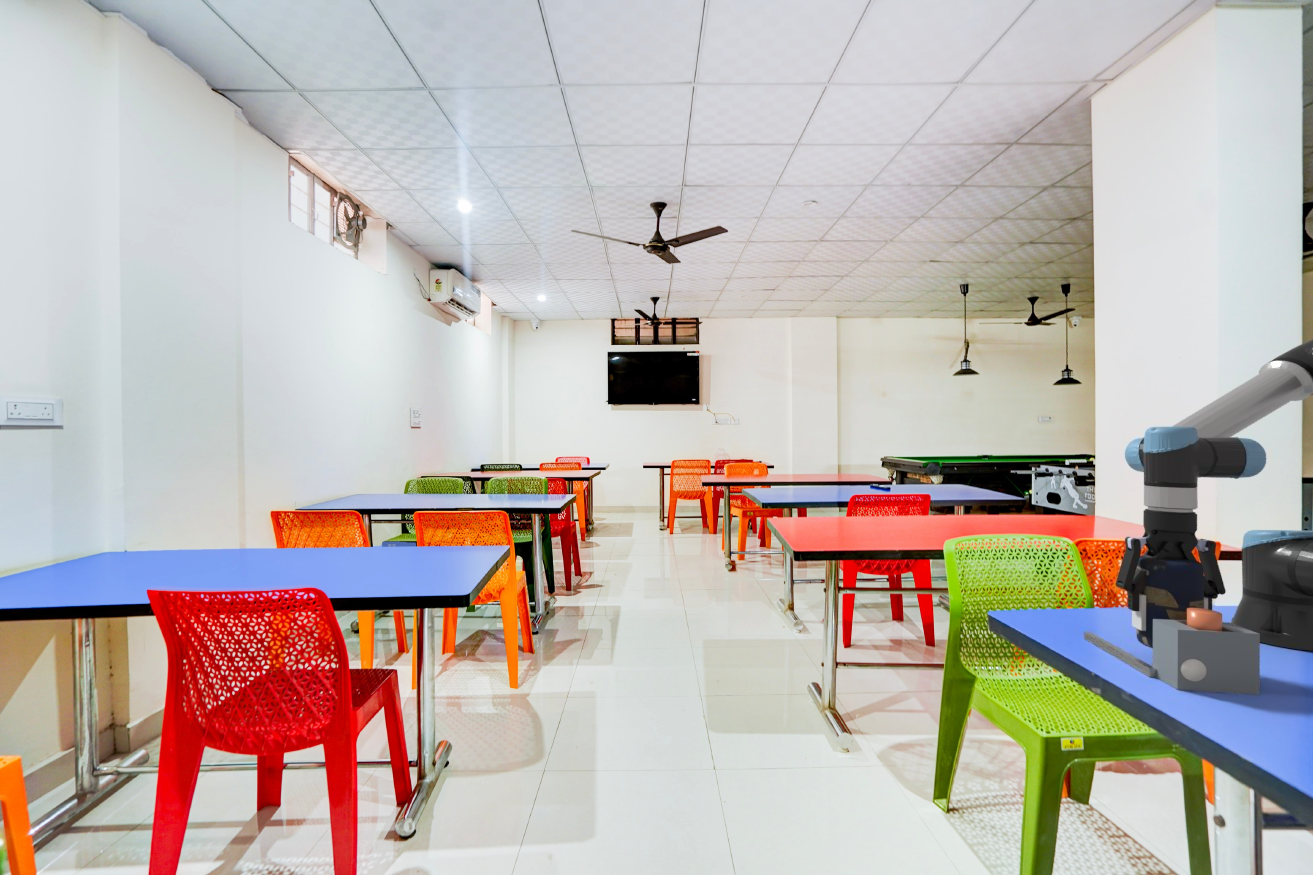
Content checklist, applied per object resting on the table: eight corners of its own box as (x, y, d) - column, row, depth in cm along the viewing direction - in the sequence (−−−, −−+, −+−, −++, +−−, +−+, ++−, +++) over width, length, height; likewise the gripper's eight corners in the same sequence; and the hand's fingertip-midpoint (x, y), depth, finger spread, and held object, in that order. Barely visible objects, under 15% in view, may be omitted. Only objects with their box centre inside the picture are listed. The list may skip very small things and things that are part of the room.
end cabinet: (1229, 679, 102) (1229, 622, 102) (1261, 695, 95) (1261, 634, 95) (1152, 675, 103) (1152, 618, 103) (1179, 690, 97) (1179, 630, 97)
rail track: (1165, 642, 120) (1165, 635, 120) (1247, 682, 100) (1248, 674, 100) (1084, 638, 122) (1084, 631, 122) (1149, 677, 103) (1149, 668, 103)
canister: (1218, 660, 103) (1218, 558, 103) (1155, 656, 105) (1156, 556, 105) (1181, 642, 112) (1181, 548, 112) (1124, 638, 114) (1125, 546, 114)
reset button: (1208, 634, 101) (1208, 608, 101) (1229, 642, 97) (1229, 615, 97) (1180, 632, 102) (1180, 607, 102) (1199, 641, 98) (1199, 614, 98)
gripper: (1220, 508, 111) (1220, 626, 110) (1092, 505, 114) (1091, 620, 114) (1255, 513, 103) (1254, 640, 103) (1116, 510, 106) (1116, 632, 106)
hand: (1169, 629), depth 108 cm, fingers closed on canister, 9 cm apart
